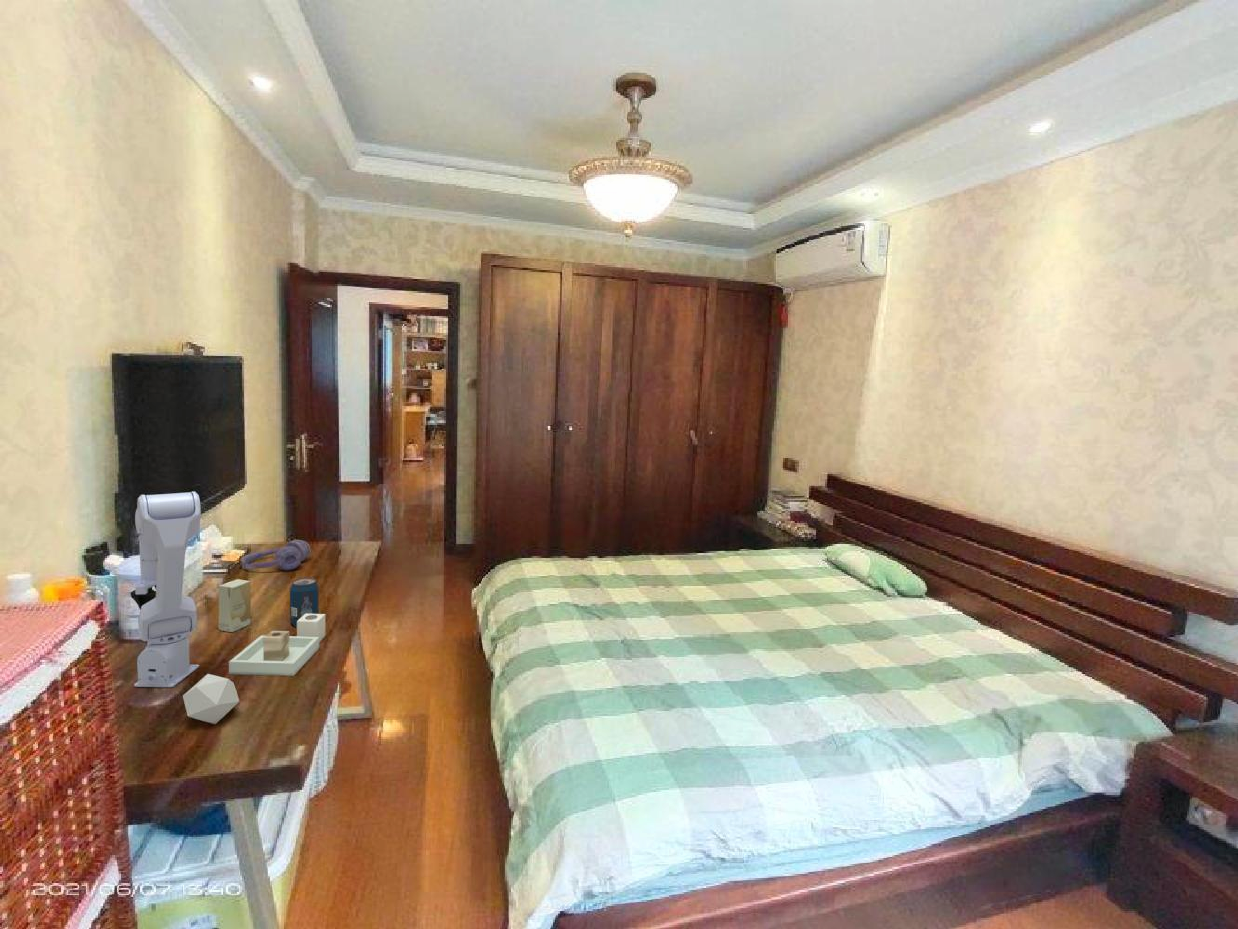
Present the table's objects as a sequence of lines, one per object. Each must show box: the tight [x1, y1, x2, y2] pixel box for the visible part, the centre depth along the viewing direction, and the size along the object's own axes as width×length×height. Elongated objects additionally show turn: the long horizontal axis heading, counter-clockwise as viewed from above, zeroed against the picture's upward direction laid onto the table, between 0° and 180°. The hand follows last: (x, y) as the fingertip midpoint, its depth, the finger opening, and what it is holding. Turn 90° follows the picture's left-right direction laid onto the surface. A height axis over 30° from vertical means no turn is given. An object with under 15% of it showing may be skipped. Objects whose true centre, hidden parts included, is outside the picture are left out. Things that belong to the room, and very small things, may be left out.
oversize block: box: [296, 613, 326, 643], centre depth 153 cm, size 5×5×6 cm
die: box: [182, 673, 240, 725], centre depth 117 cm, size 8×9×10 cm
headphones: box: [240, 539, 312, 571], centre depth 206 cm, size 18×8×20 cm
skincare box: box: [218, 578, 251, 633], centre depth 157 cm, size 6×4×12 cm
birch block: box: [263, 630, 290, 661], centre depth 141 cm, size 4×4×6 cm
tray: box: [228, 634, 320, 677], centre depth 141 cm, size 14×14×3 cm
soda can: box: [289, 577, 320, 628], centre depth 162 cm, size 7×7×12 cm
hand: (157, 612), depth 142 cm, fingers open, 7 cm apart
